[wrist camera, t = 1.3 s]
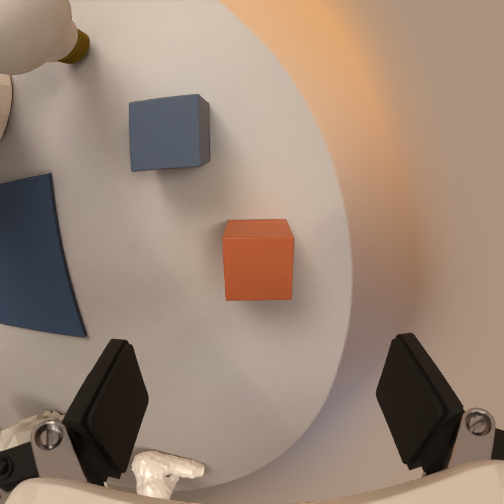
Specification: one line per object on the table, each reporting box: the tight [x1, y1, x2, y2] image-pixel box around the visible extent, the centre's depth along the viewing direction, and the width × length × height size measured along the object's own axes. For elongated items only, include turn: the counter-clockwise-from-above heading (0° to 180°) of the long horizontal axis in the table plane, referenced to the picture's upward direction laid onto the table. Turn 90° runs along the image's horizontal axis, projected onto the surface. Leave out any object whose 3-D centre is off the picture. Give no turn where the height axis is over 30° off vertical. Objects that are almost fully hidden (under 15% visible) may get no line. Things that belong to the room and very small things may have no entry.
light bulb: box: [0, 0, 90, 75], centre depth 11 cm, size 6×6×10 cm
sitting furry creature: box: [131, 450, 204, 500], centre depth 26 cm, size 10×9×12 cm
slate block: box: [129, 94, 210, 172], centre depth 16 cm, size 4×4×4 cm
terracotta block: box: [222, 219, 294, 301], centre depth 19 cm, size 4×4×4 cm
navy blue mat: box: [0, 173, 87, 337], centre depth 21 cm, size 15×14×1 cm
